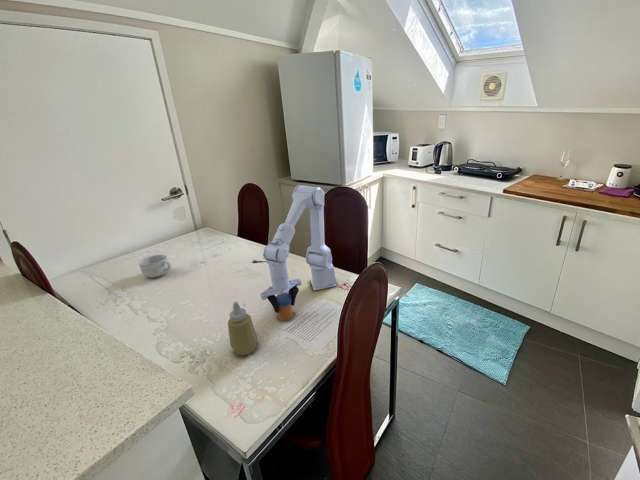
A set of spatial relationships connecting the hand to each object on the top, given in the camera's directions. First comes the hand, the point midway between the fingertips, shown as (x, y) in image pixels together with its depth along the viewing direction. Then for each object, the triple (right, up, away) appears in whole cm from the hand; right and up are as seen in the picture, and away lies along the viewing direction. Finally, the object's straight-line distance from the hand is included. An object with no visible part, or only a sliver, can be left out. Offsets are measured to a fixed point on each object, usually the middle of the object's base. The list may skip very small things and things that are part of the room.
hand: (284, 308), depth 113 cm
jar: (0, -3, +2) cm, 4 cm away
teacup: (-66, +8, +30) cm, 73 cm away
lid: (0, +4, -2) cm, 4 cm away
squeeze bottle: (-8, -10, -13) cm, 19 cm away
